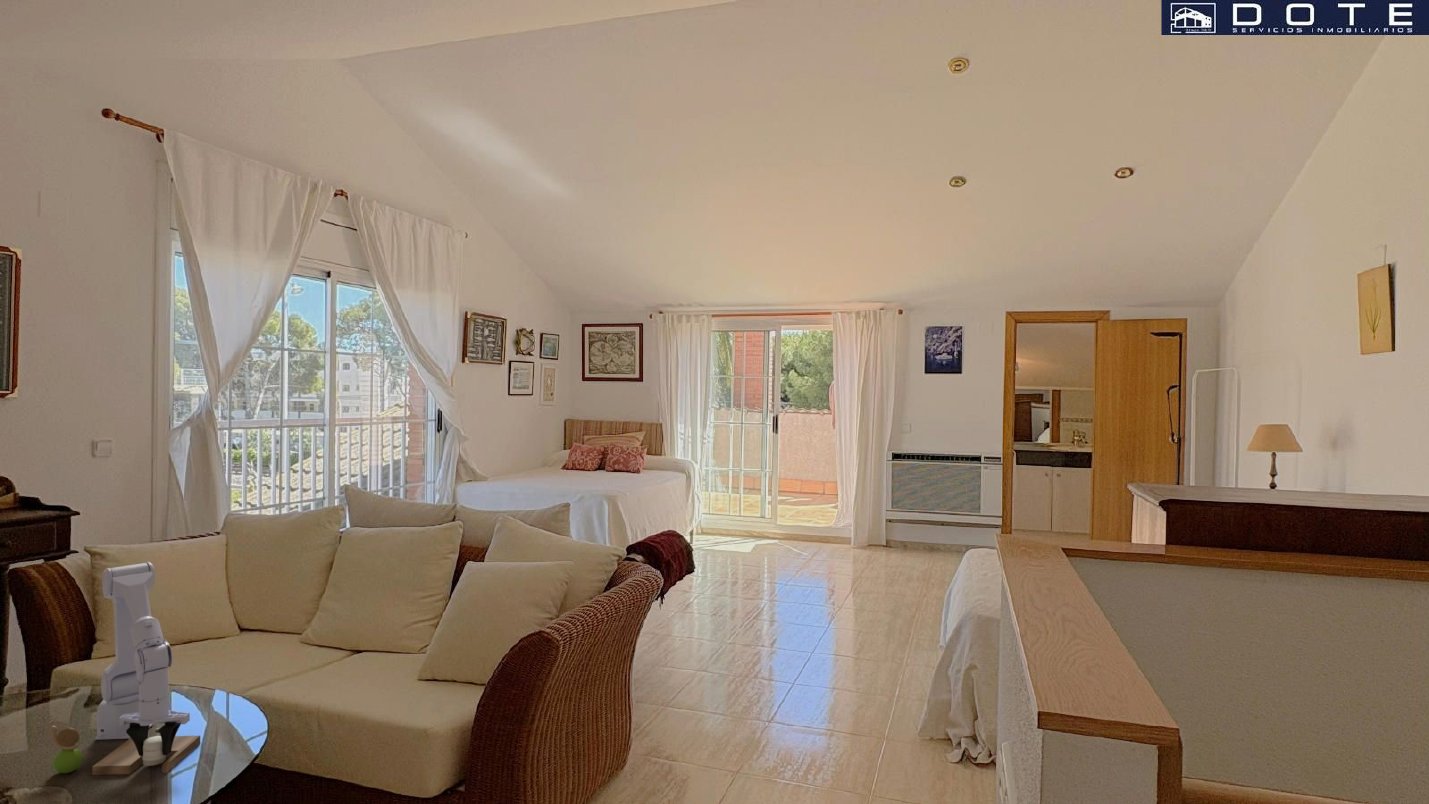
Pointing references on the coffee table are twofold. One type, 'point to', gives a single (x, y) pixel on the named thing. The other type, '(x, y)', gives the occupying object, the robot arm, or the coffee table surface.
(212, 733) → the coffee table surface
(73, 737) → the snail figurine
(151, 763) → the ribbed cream cylinder
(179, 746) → the shelf board
